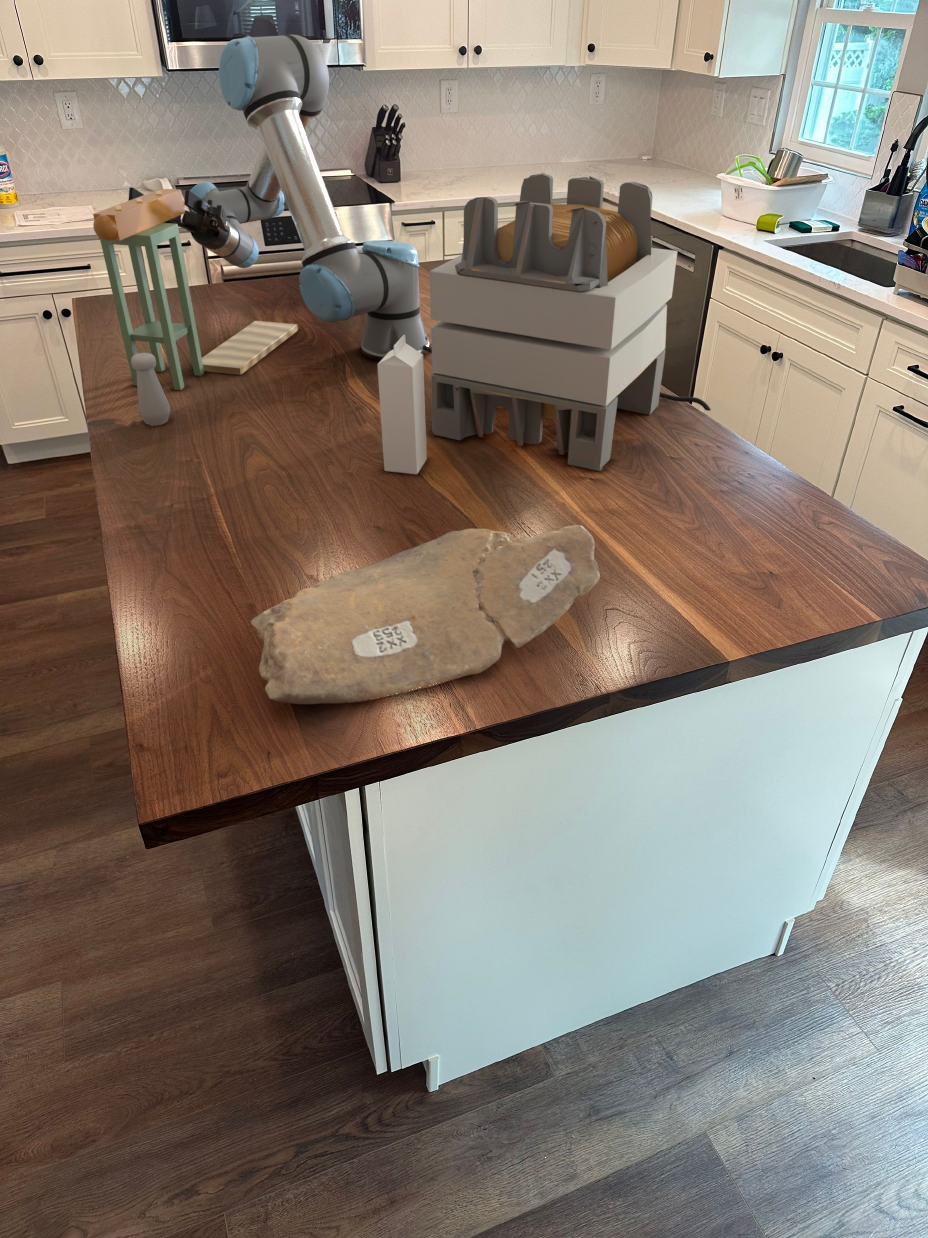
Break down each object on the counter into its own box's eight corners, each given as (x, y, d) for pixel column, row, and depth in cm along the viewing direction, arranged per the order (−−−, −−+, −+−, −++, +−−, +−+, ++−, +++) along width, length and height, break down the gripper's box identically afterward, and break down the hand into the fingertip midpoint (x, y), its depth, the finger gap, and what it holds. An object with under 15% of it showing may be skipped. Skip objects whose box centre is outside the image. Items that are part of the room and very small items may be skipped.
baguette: (113, 243, 162) (106, 215, 160) (91, 242, 163) (85, 214, 161) (190, 210, 184) (186, 185, 182) (171, 209, 185) (167, 184, 182)
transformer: (661, 406, 177) (691, 178, 153) (600, 473, 153) (624, 217, 129) (506, 376, 190) (511, 163, 166) (428, 434, 166) (421, 196, 142)
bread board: (240, 374, 192) (239, 368, 191) (194, 370, 194) (193, 363, 193) (298, 330, 215) (297, 324, 214) (256, 326, 217) (255, 320, 217)
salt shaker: (178, 418, 173) (165, 352, 166) (159, 429, 169) (144, 362, 161) (155, 413, 175) (140, 347, 168) (134, 424, 171) (118, 357, 163)
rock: (229, 622, 121) (286, 753, 102) (211, 559, 114) (269, 685, 96) (524, 530, 135) (621, 630, 116) (523, 468, 128) (627, 563, 109)
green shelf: (180, 390, 185) (150, 235, 167) (133, 385, 187) (98, 232, 170) (204, 373, 193) (177, 223, 175) (158, 368, 195) (127, 220, 177)
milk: (384, 471, 154) (374, 344, 142) (394, 456, 159) (386, 332, 146) (418, 474, 153) (411, 347, 140) (427, 459, 158) (422, 334, 145)
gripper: (166, 211, 200) (106, 173, 179) (265, 217, 195) (215, 178, 174) (163, 246, 201) (103, 212, 180) (262, 253, 196) (211, 218, 175)
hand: (158, 195), depth 177 cm, fingers open, 12 cm apart
